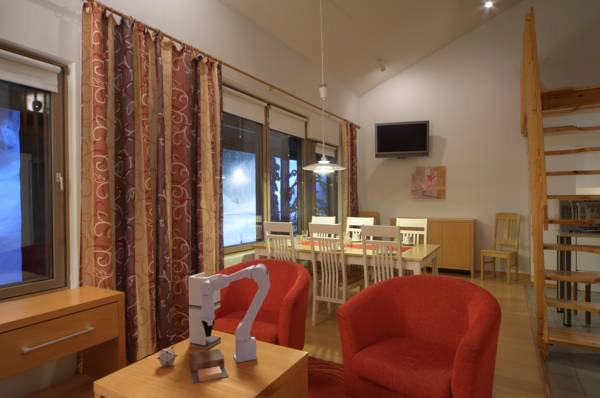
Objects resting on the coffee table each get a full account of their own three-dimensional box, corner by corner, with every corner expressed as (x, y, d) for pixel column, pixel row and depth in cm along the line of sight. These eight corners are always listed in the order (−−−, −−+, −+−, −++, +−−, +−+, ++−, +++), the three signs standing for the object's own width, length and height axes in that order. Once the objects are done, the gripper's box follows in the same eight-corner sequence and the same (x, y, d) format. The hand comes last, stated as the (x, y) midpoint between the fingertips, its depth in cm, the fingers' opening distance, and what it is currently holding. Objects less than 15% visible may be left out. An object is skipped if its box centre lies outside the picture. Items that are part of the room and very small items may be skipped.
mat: (224, 367, 162) (224, 366, 162) (228, 376, 153) (228, 376, 153) (191, 373, 156) (191, 373, 156) (193, 383, 148) (193, 383, 148)
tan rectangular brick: (221, 372, 153) (221, 377, 153) (219, 366, 158) (219, 370, 158) (199, 376, 149) (199, 381, 149) (197, 370, 155) (197, 374, 155)
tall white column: (206, 349, 180) (205, 278, 180) (189, 346, 185) (188, 276, 184) (220, 341, 191) (219, 273, 190) (204, 337, 195) (203, 272, 195)
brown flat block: (219, 357, 172) (219, 348, 172) (224, 367, 162) (224, 358, 162) (188, 362, 167) (188, 354, 166) (191, 373, 156) (191, 364, 156)
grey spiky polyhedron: (169, 375, 163) (168, 363, 157) (153, 367, 164) (152, 355, 158) (181, 358, 170) (181, 346, 164) (165, 350, 171) (165, 338, 165)
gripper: (197, 303, 176) (197, 332, 176) (200, 312, 162) (201, 343, 162) (212, 301, 178) (212, 329, 179) (217, 310, 165) (217, 340, 165)
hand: (208, 336), depth 171 cm, fingers closed
